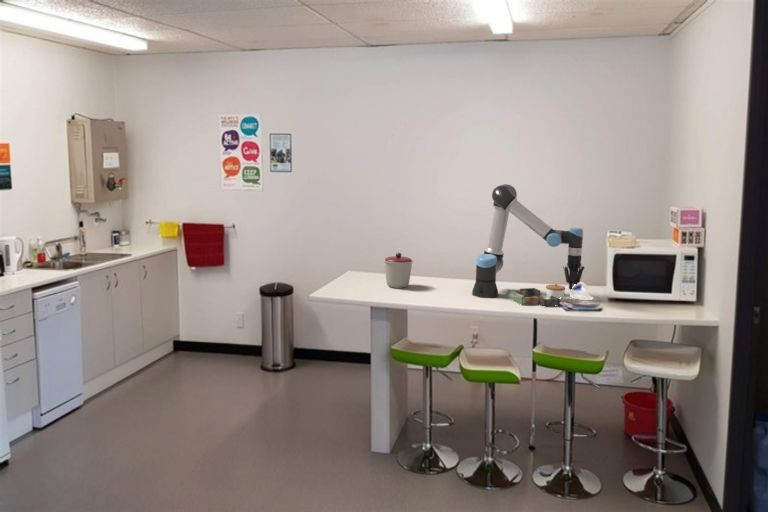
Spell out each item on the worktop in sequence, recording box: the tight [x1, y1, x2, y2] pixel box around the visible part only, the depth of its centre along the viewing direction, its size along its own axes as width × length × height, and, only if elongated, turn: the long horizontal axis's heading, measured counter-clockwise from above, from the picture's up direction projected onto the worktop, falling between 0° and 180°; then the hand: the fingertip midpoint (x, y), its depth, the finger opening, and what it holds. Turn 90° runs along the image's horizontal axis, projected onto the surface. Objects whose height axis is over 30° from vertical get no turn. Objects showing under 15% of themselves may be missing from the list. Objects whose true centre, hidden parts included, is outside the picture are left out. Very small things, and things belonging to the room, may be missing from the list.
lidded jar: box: [545, 283, 566, 299], centre depth 386 cm, size 11×11×9 cm
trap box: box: [507, 287, 561, 307], centre depth 382 cm, size 20×29×5 cm
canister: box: [383, 252, 414, 289], centre depth 412 cm, size 18×18×21 cm
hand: (572, 294), depth 389 cm, fingers closed
